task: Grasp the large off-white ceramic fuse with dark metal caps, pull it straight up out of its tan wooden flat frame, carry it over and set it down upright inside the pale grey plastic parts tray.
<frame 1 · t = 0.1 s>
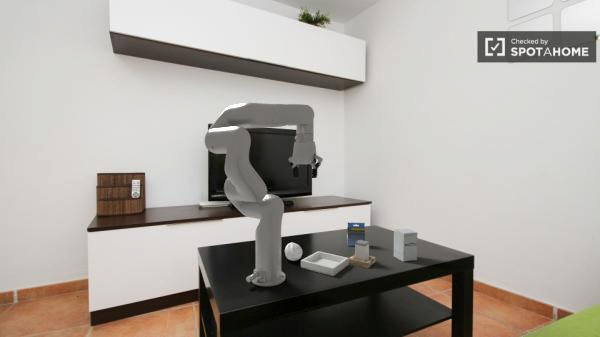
hand: (304, 177, 120), 37 cm above the table, tool pointing down, fingers open, 9 cm apart
tan wooden flat frame: (362, 262, 118), on the table
parts tray: (325, 266, 114), on the table
label tape cartridge: (355, 245, 142), on the table
fuse: (362, 252, 118), in the tan wooden flat frame
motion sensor: (293, 260, 121), on the table
supplement box: (405, 258, 123), on the table
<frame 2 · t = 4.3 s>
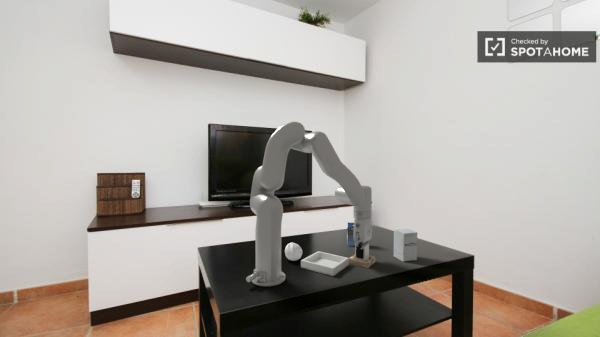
hand: (362, 255, 118), 3 cm above the table, tool pointing down, fingers closed on fuse, 4 cm apart
fuse: (362, 252, 118), in the tan wooden flat frame, touching gripper
everything else where it was.
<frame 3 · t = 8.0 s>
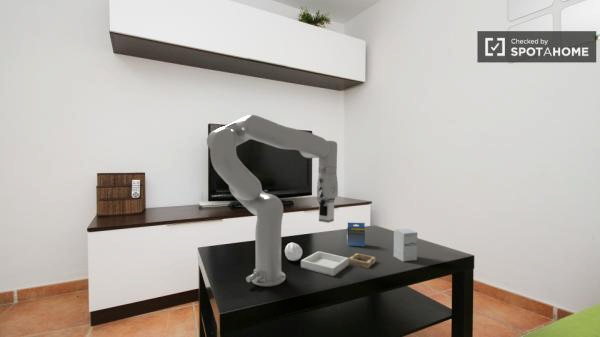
hand: (326, 214, 113), 22 cm above the table, tool pointing down, fingers closed on fuse, 4 cm apart
fuse: (326, 210, 113), point 24 cm above the table, touching gripper
everything else where it was.
when the fingers open (5 cm above the table, at t = 11.8 s): fuse drops 1 cm, resting on parts tray.
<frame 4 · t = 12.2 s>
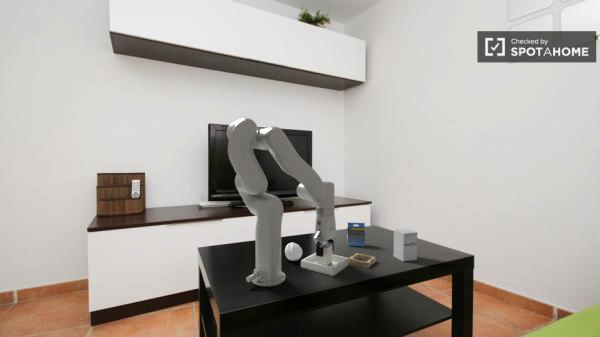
hand: (325, 252, 114), 6 cm above the table, tool pointing down, fingers open, 8 cm apart
fuse: (325, 254, 114), in the parts tray, point 5 cm above the table
everything else where it was.
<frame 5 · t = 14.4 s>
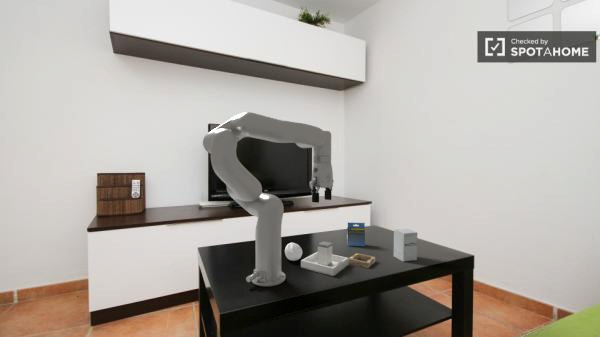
hand: (321, 200, 115), 27 cm above the table, tool pointing down, fingers open, 9 cm apart
nothing on the table moved.
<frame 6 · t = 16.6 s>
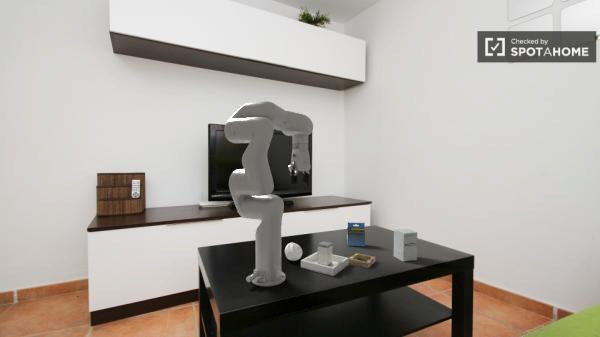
hand: (300, 183, 131), 33 cm above the table, tool pointing down, fingers open, 9 cm apart
nothing on the table moved.
at the end: fuse inside the target area on the parts tray (0.0 cm from its centre), point 5.1 cm above the parts tray's base; fuse tilted 0°; the gripper is holding nothing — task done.
